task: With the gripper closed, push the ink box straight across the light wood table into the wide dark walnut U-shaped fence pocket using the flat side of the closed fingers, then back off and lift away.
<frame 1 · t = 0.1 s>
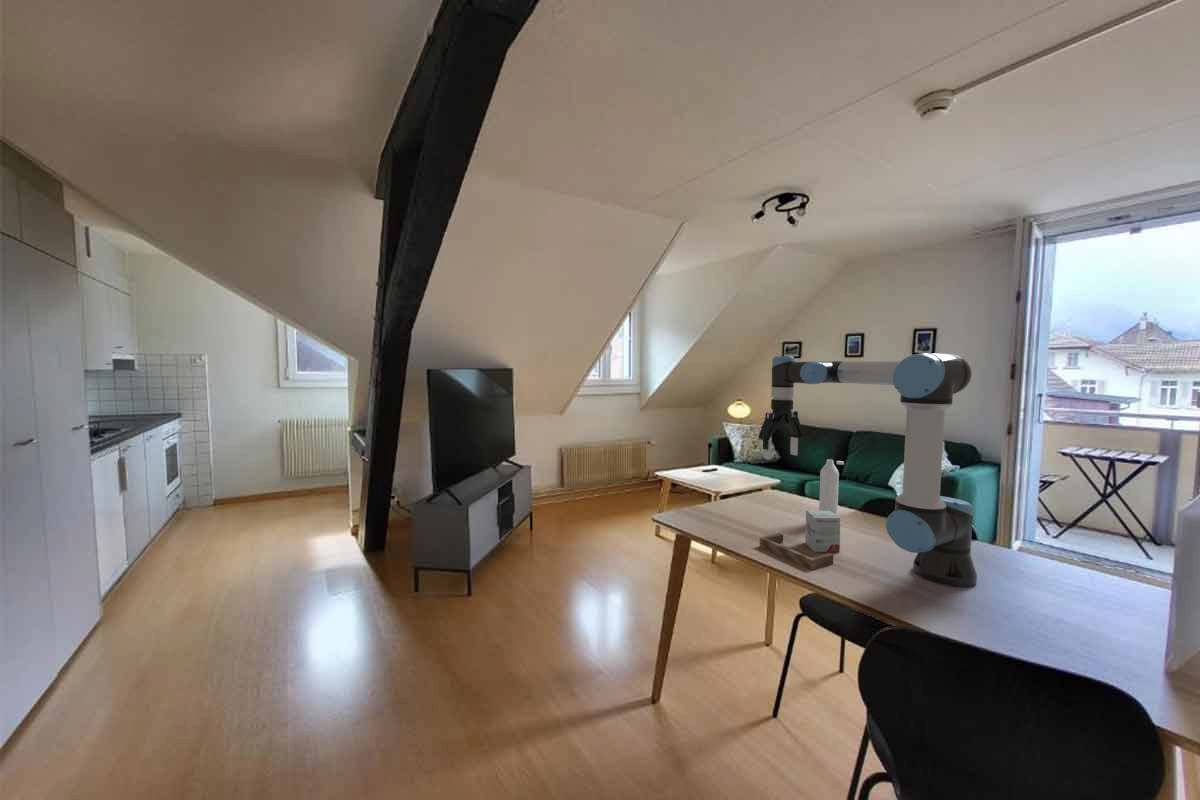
hand: (780, 456, 175), 28 cm above the table, fingers open, 13 cm apart
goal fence: (785, 557, 154), on the table
ink box: (821, 548, 161), on the table
water bottle: (830, 524, 184), on the table
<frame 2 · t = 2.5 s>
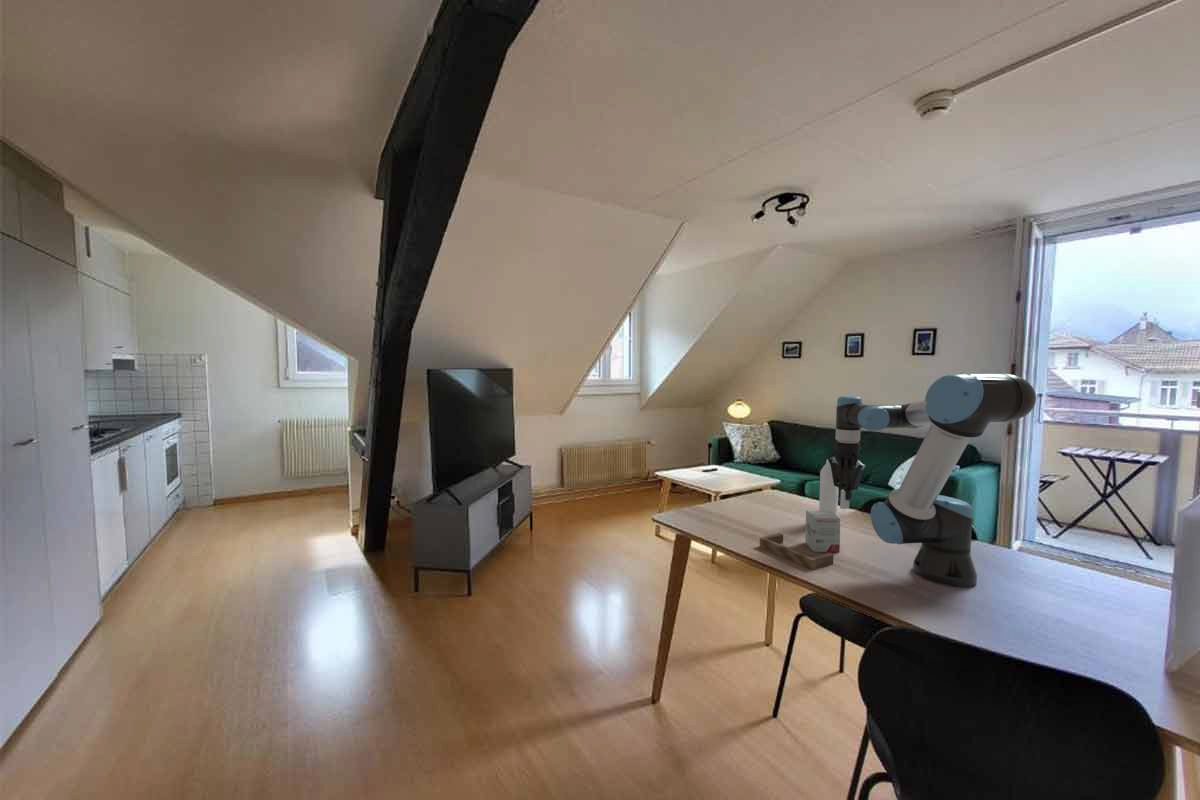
hand: (844, 508, 166), 12 cm above the table, fingers closed
nothing on the table moved.
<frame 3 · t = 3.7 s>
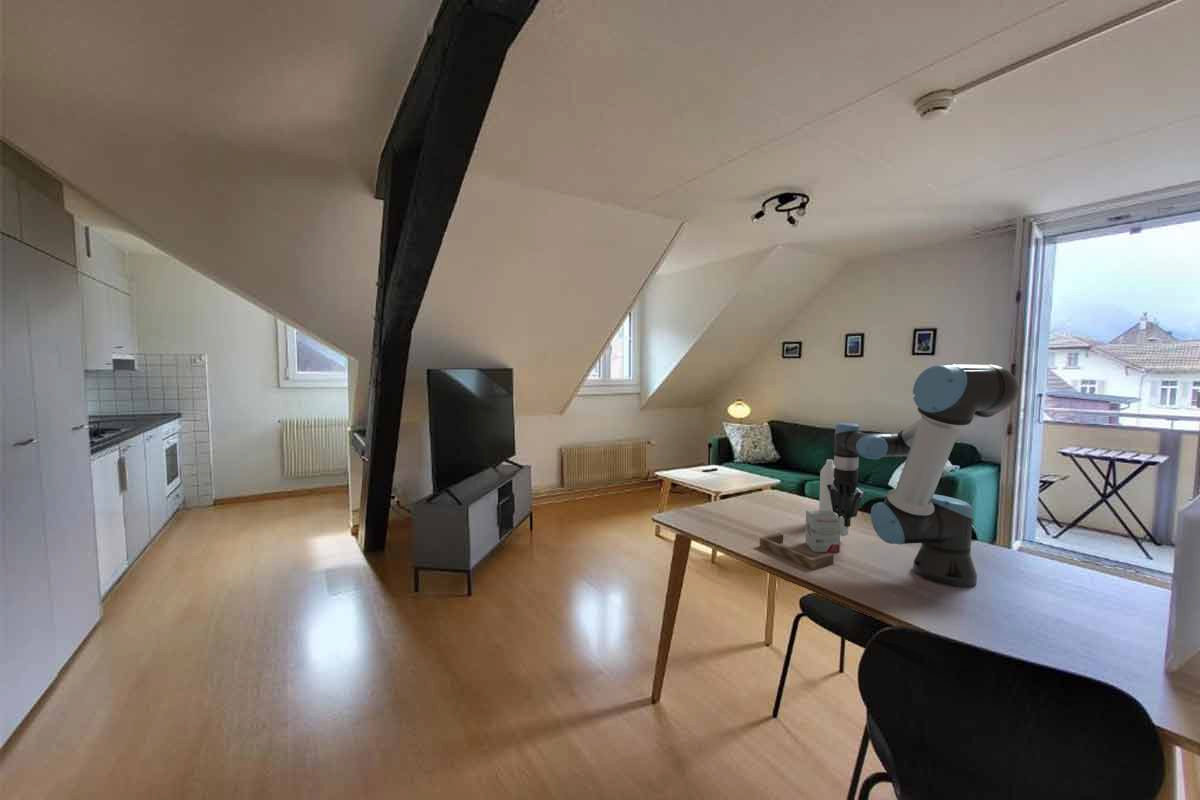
hand: (843, 534, 166), 2 cm above the table, fingers closed
nothing on the table moved.
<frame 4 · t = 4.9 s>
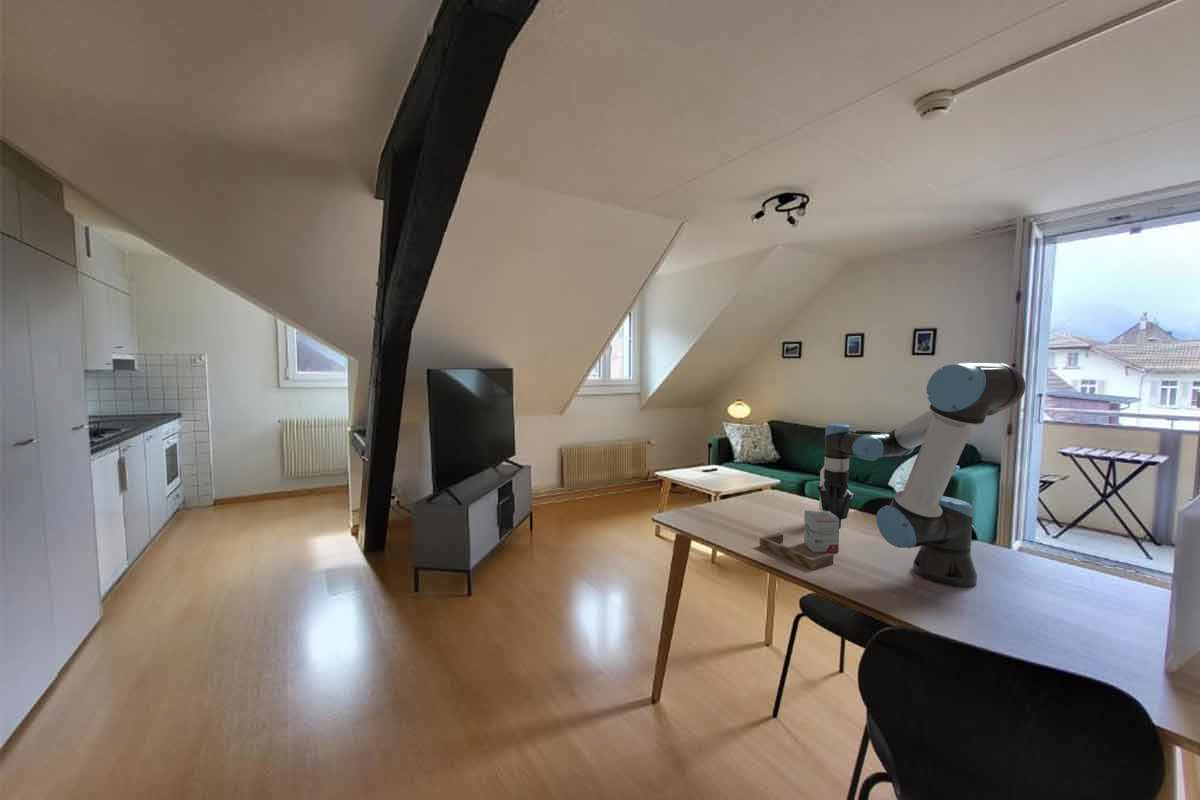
hand: (834, 536, 164), 2 cm above the table, fingers closed
ink box: (820, 548, 161), on the table, touching gripper
everything else where it was.
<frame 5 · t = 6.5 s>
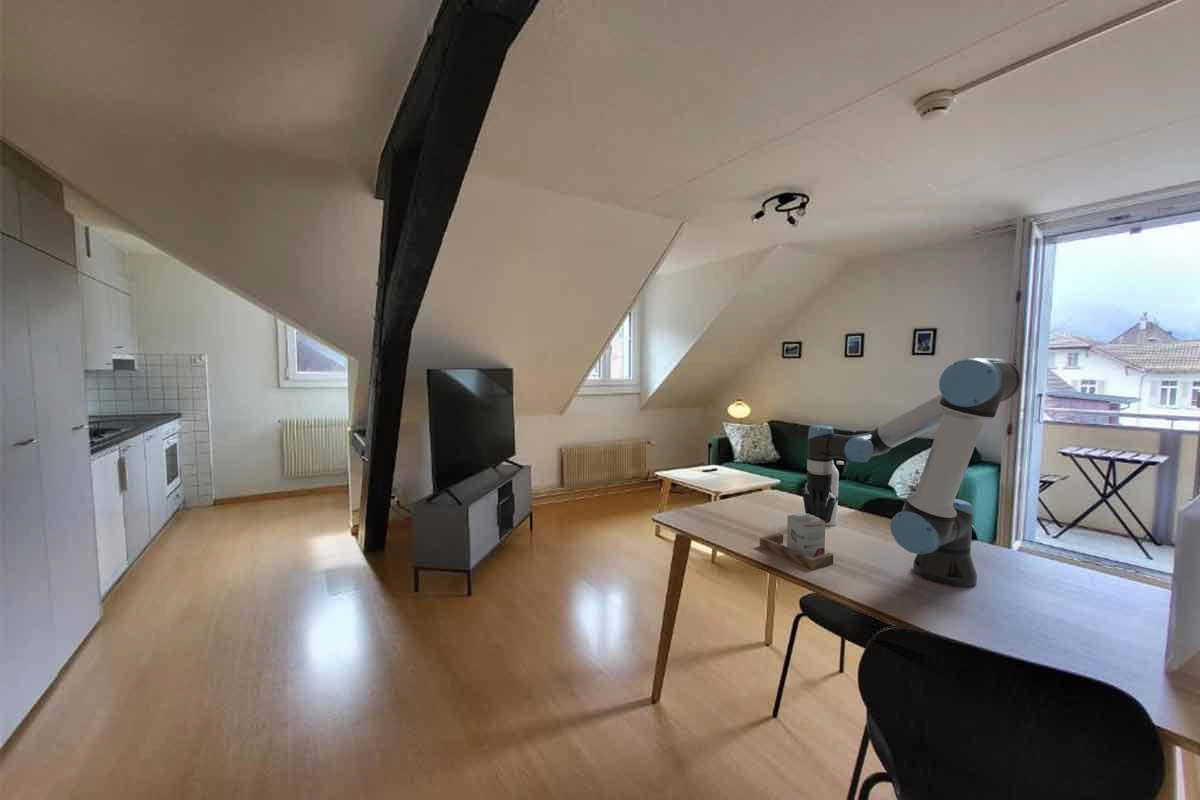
hand: (817, 541, 160), 2 cm above the table, fingers closed
ink box: (805, 552, 157), on the table, touching gripper
everything else where it was.
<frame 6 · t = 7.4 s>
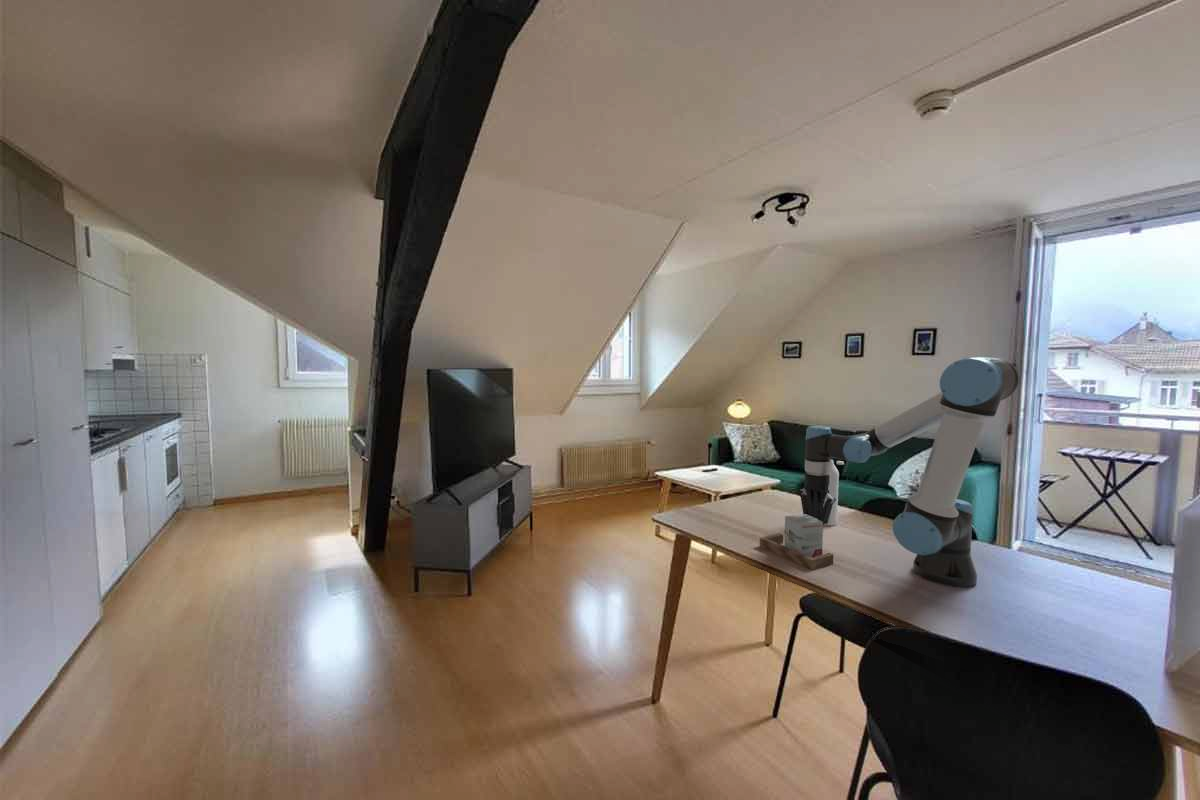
hand: (814, 542, 160), 2 cm above the table, fingers closed
ink box: (802, 553, 157), on the table, touching gripper
everything else where it was.
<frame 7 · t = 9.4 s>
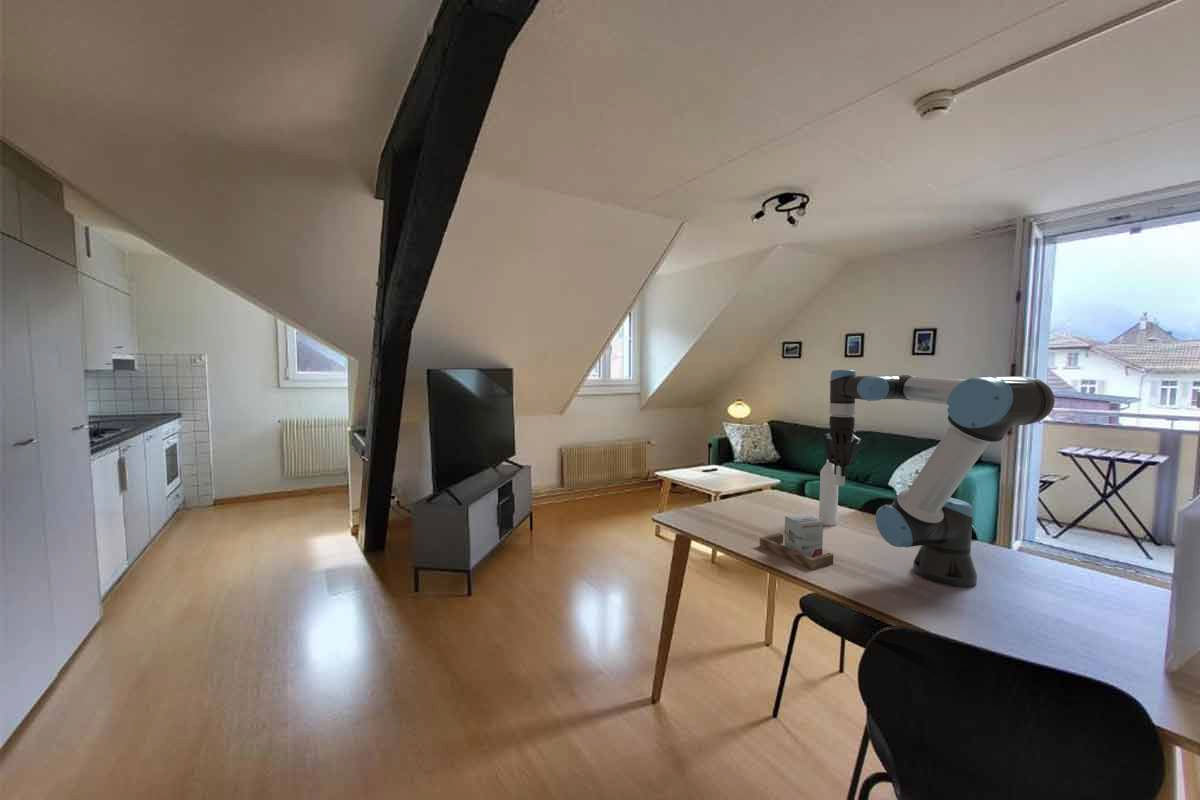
hand: (840, 485, 162), 21 cm above the table, fingers closed
ink box: (802, 553, 157), on the table
everything else where it was.
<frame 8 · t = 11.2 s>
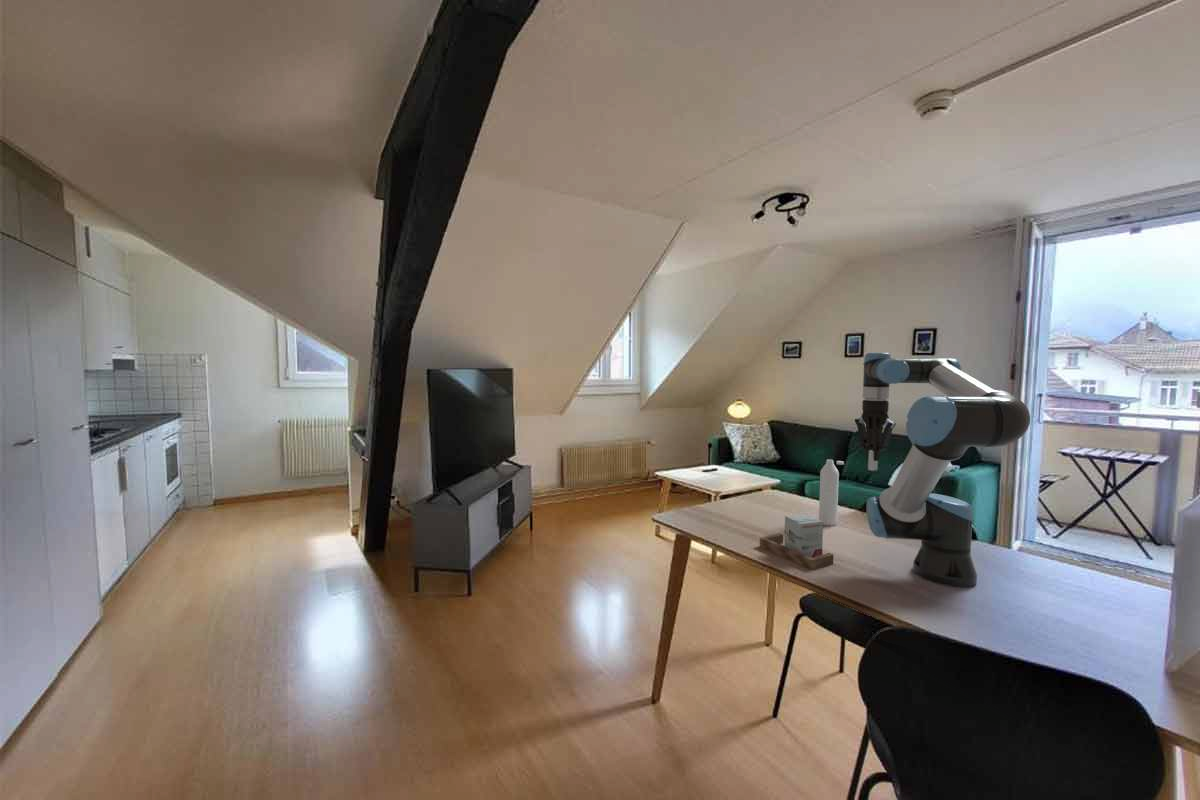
hand: (872, 469, 160), 26 cm above the table, fingers closed
nothing on the table moved.
at the end: ink box inside the target area on the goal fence (0.7 cm from its centre), point 0.0 cm above the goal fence's base; ink box tilted 0°; ink box moved 9.6 cm from its start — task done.
